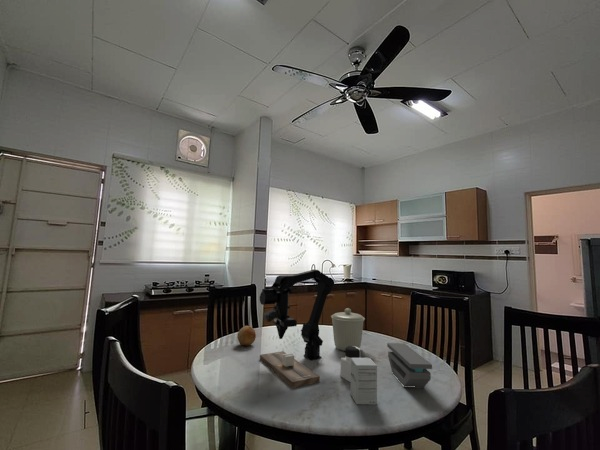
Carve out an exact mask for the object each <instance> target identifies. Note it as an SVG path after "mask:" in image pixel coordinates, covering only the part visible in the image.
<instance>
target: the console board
mask: <svg viewBox="0 0 600 450" xmlns="http://www.w3.org/2000/svg"><path fill="white" fill-rule="evenodd" d="M283 354H287V353H286V352H285V351H284V350H283V351H275V352H268V353H262V354H259V360H260V361H261V362H262V363H263V364H264V365H266V366H267V367H268V368H269V369H270V370H271V371H272V372H274V373H275V374H276V375H277V376H278V377H280V378H281V380H282V381H284V382H285V383H286V384H287V385H289V386H290V387H291V388H292V389H293V388H298V387H299V388H300V387H304V386H307V385H308V386H309V385H312V384H315V383H319V382H321V381H320V380H321V377H320V375H319V374H317V373H316V372H314V371H313V370H312V369H310V368H308V367H307V366H305V365H304V364H302V362H300V361H298V360H296V359H295V358H294V365H293V366H287V367H285V366H284V365H283V364H282V361H283Z"/></svg>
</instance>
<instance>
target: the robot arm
mask: <svg viewBox="0 0 600 450" xmlns="http://www.w3.org/2000/svg"><path fill="white" fill-rule="evenodd" d="M312 279H313V281H314V282H315V283H316V292H317V293H316V294H317V295H316V296H315V301H314V304H313V307H312V309H311V310H312V311H310V312H311V313H310V316H309V318H308V321H307V322H306V323H305V322H303V324H302V328H301V330H300V332H301V333H300V336H301V337H302V339H303V342H304V343H305V347H304V354H303V357H305V358H306V359H308V360H309V361H310V360H311V361H312V360H318V359H322V356H320V354H321V353H320V352H321V349H320V348H321V346H322V345H323V342H324V340H323V339H322V338H321V337H320V336H319V335H320V327H319V323H320V322H321V321H320V319H321V316H322V314H323V311H324V307H325V304H326V301H327V297H328V295H329V294H330V293H331V292H332V291H333V288H334V286H335V281H334V279H333V278H332V277H329V276H328V275H326V274H325V273H323V272H321V271H320V270H318V269H315V268H314V269H311V270H307V271H304V272H299V273H295V274H286V275H285V274H284V275H283V274H282V275H278V276H276V277H275V279H274V282H273V284H272V285H271V286H270V288H262V289H261V290H262V291H261V292H260V295H259V302H260V305H262V306H263V305H273V308H271V309H270V310H267V311H266V312H263V313H262V316H263V318H264V321H265V322H267V323H270V322H272V324H274V325H275V327H276V329H277V335H278V339H279V340H282V339H284V338H283V337H284V336H285V334H286V332H287V330H288V328H292V327H297V324H298V323H297V322H298V321H297V319H295V318H292V317H290V315H289V309H291V306H290V305H289V299H290V298H289V297H290V296H289V295H290V294H294V292H293V290H292V289H291V288H292V287H294V286H295V285H296V284H299V283H301V282H305V281H309V280H312Z"/></svg>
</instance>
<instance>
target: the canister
mask: <svg viewBox="0 0 600 450" xmlns="http://www.w3.org/2000/svg"><path fill="white" fill-rule="evenodd" d="M330 318H331V321H332V333H333V335H332V336H333V342H334V346H335V348H336V349H338V350H339V351H343V352H345V348H346V347H348V346H356V347H358V348H361V346H362V345H361V344H362V338H363V329H364V321H365V320H366V318H365V317H364V316H363V315H361V314H360V313H355V312H352V309H351V308H349V307H347V308H345V309H344V311H341V312H335V313H334V314H332V315H330Z"/></svg>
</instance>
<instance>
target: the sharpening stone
mask: <svg viewBox="0 0 600 450" xmlns="http://www.w3.org/2000/svg"><path fill="white" fill-rule="evenodd" d="M386 347H387V348H388V349H389V350H390V351H387V352H388V353H387V357H388V361H389V365H390V369H391V372H393V374H394V375H395V376H396V377H397V378H398V380H399V381H400V382H401V383H402V384H403V385H404V386H415V387H414V388H416V387H424V388H425V387H426V386H427V384H428V383H429V382H430V381H431V379H432V377H431V376H432V375H431V372H430V371H429V370H432V369H433V364H432V363H431V362H429V361H428V360H426V359H425V358H424V357H423V356H422V355H421V354H419V353H418V352H417V351H415V350H414V349H412V347H410V346H408V344H406V343H400V342H398V343H397V342H387V345H386ZM393 374H392V375H393ZM398 380H397V381H398ZM399 381H398V382H399Z"/></svg>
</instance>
